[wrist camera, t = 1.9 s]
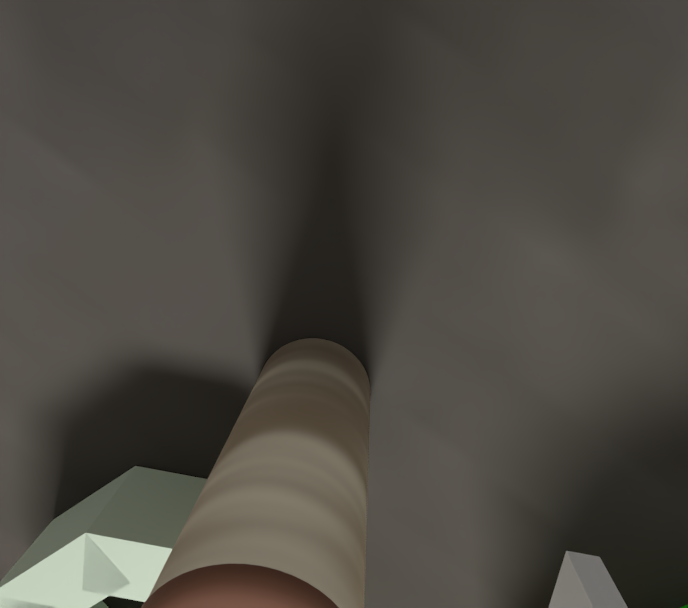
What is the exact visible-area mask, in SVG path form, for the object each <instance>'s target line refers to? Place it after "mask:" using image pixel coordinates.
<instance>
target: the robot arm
mask: <svg viewBox="0 0 688 608" xmlns="http://www.w3.org/2000/svg"><path fill="white" fill-rule="evenodd" d="M548 608H628V607H627V605H626V604H625V602H624V600H623V598H622V596H621V594H620V593H619V591H618V589H617V587H616V585H615V584H614V582H613V580H612V578H611V576H610V575H609V573H608V571H607V569H606V567H605V566H604V564H603V562H602V560H601V558H600V557H598V556H593V555H587V554H582V553H576V552H571V551H566V553H565V556H564V559H563V563H562V566H561V569H560V572H559V575H558V579H557V582H556V585H555V588H554V591H553V595H552V598H551V601H550V604H549V607H548Z"/></svg>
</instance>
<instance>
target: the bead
mask: <svg viewBox="0 0 688 608" xmlns="http://www.w3.org/2000/svg"><path fill="white" fill-rule="evenodd" d="M206 481H207V479H204V478H199V477H193V476H188V475H182V474H177V473H172V472H166V471H161V470H155V469H150V468H145V467H139V466H134V467H133V468H131V469H130V470H128V471H127V472H125V473H124V474H122V475H121V476H119V477H118V478H116V479H114V480H113V481H111V482H110V483H108V484H107V485H105V486H104V487H102V488H101V489H99V490H98V491H96V492H95V493H93V494H92V495H90V496H89V497H87V498H85V499H84V500H82V501H81V502H79V503H78V504H76V505H75V506H73V507H72V508H70V509H69V510H67V511H66V512H64V513H63V514H61V515H60V516H58V517H56V518H55V519H53V520H52V521H51V523H50V524H49V525H48V526H47V527H46V528H45V530H44V531H43V532H42V533H41V534H40V536H39V537H38V538H37V539H36V540H35V541H34V543H33V544H32V545H31V546H30V547H29V548H28V550H27V551H26V552H25V553H24V554H23V555H22V557H21V558H20V559H19V560H18V561H17V562H16V564H15V565H14V566H13V567H12V568H11V569H10V571H9V572H8V573H7V574H6V575H5V576H4V578H3V579H2V580H1V581H0V608H108V606H107V605H106V604H105V603H104V602H103V599H105V598H107V597H108V596H114V597H120V598H125V599H130V600H136V601H141V602H145V601H146V600H147V599H148V597H149V595H150V593H151V591H152V589H153V587H154V585H155V583H156V581H157V579H158V577H159V575H160V573H161V571H162V569H163V567H164V565H165V563H166V561H167V559H168V557H169V555H170V553H171V551H172V549H173V547H174V545H175V543H176V541H177V539H178V537H179V535H180V533H181V531H182V529H183V527H184V525H185V523H186V521H187V519H188V517H189V515H190V513H191V511H192V509H193V507H194V505H195V503H196V501H197V499H198V497H199V495H200V493H201V491H202V489H203V487H204V485H205V483H206Z"/></svg>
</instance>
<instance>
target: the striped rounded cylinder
mask: <svg viewBox="0 0 688 608" xmlns="http://www.w3.org/2000/svg"><path fill="white" fill-rule="evenodd" d="M369 421H370V384H369V379H368V376H367V373H366V371H365V369H364V367H363V365H362V364H361V362H360V361H359V360H358V359H357V357H356V356H355V355H354V354H353V353H351V352H350V351H349V350H348V349H346V348H345V347H343V346H341V345H339V344H337V343H335V342H332V341H329V340H325V339H318V338H307V339H300V340H296V341H293V342H290V343H288V344H286V345H284V346H283V347H281V348H280V349H278V350H277V351H276V352H275V353H274V354H273V355H272V356H271V357H270V358H269V359H268V361H267V362H266V364H265V365H264V367H263V369H262V371H261V373H260V375H259V377H258V379H257V381H256V383H255V385H254V387H253V389H252V391H251V393H250V395H249V397H248V399H247V401H246V403H245V405H244V407H243V409H242V411H241V413H240V415H239V417H238V419H237V421H236V423H235V425H234V427H233V429H232V431H231V433H230V435H229V437H228V439H227V441H226V443H225V445H224V447H223V449H222V451H221V453H220V455H219V457H218V459H217V461H216V463H215V465H214V467H213V469H212V471H211V473H210V475H209V477H208V479H207V481H206V483H205V485H204V487H203V489H202V491H201V493H200V495H199V497H198V499H197V501H196V503H195V505H194V507H193V509H192V511H191V513H190V515H189V517H188V519H187V521H186V523H185V525H184V527H183V529H182V531H181V533H180V535H179V537H178V539H177V541H176V543H175V545H174V547H173V549H172V551H171V553H170V555H169V557H168V559H167V561H166V563H165V565H164V567H163V569H162V571H161V573H160V575H159V577H158V579H157V581H156V583H155V585H154V587H153V589H152V591H151V593H150V595H149V597H148V599H147V600H146V601H145V603H144V604H143V605H142V606H141V608H364V591H365V557H366V523H367V489H368V455H369Z"/></svg>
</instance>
